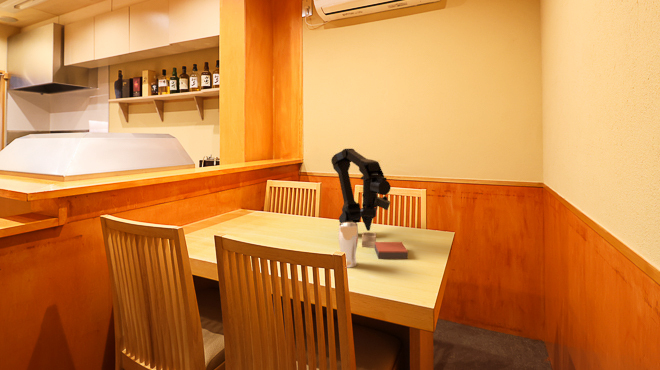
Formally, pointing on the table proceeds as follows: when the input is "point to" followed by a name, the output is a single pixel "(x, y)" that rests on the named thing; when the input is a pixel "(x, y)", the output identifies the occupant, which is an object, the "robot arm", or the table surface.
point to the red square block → (391, 250)
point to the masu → (368, 239)
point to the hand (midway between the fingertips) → (369, 227)
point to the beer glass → (349, 241)
